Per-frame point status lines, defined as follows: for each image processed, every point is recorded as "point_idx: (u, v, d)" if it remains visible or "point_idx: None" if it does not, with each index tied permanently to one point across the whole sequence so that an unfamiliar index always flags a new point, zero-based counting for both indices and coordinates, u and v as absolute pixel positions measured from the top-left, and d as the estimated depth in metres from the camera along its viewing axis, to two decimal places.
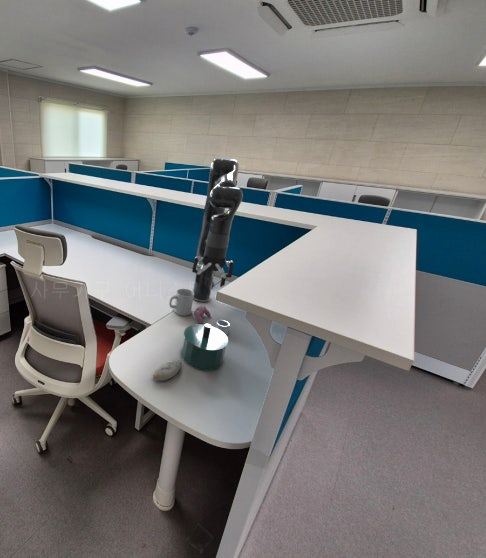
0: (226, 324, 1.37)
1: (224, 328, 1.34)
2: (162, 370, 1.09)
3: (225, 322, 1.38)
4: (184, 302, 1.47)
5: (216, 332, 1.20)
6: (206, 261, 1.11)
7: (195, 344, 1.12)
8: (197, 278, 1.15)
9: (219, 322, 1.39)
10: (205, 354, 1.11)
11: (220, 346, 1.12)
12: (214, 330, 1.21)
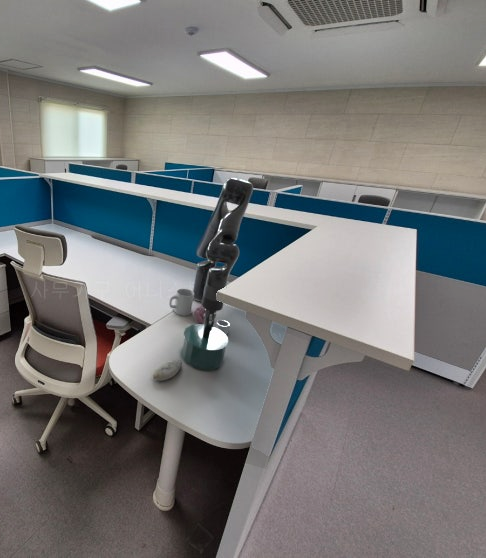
0: (226, 324, 1.37)
1: (224, 328, 1.34)
2: (162, 370, 1.09)
3: (225, 322, 1.38)
4: (184, 302, 1.47)
5: (216, 332, 1.20)
6: None
7: (195, 344, 1.12)
8: None
9: (219, 322, 1.39)
10: (205, 354, 1.11)
11: (220, 346, 1.12)
12: (214, 330, 1.21)
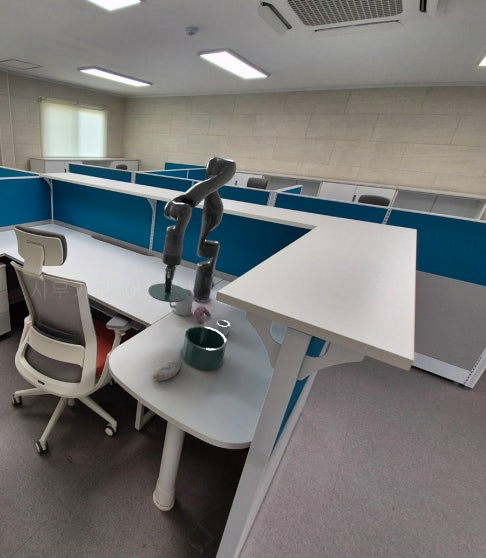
0: (226, 324, 1.37)
1: (224, 328, 1.34)
2: (162, 370, 1.09)
3: (225, 322, 1.38)
4: (184, 302, 1.47)
5: (178, 289, 1.32)
6: None
7: (157, 297, 1.24)
8: None
9: (219, 322, 1.39)
10: (205, 354, 1.11)
11: (179, 298, 1.24)
12: (176, 287, 1.34)
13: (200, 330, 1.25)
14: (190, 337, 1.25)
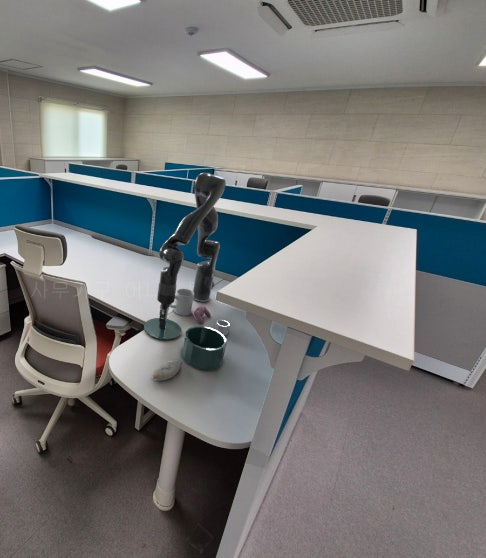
0: (226, 324, 1.37)
1: (224, 328, 1.34)
2: (162, 370, 1.09)
3: (225, 322, 1.38)
4: (184, 302, 1.47)
5: (172, 324, 1.40)
6: None
7: (152, 334, 1.32)
8: None
9: (219, 322, 1.39)
10: (205, 354, 1.11)
11: (173, 335, 1.32)
12: (171, 322, 1.42)
13: (200, 330, 1.25)
14: (190, 337, 1.25)
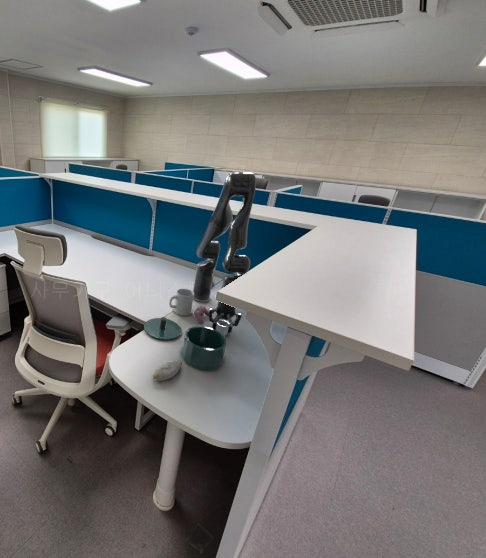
0: (226, 324, 1.37)
1: (224, 328, 1.34)
2: (162, 370, 1.09)
3: (225, 322, 1.38)
4: (184, 302, 1.47)
5: (172, 324, 1.40)
6: (219, 312, 1.33)
7: (152, 334, 1.32)
8: (213, 326, 1.37)
9: (219, 322, 1.39)
10: (205, 354, 1.11)
11: (173, 335, 1.32)
12: (171, 322, 1.42)
13: (200, 330, 1.25)
14: (190, 337, 1.25)
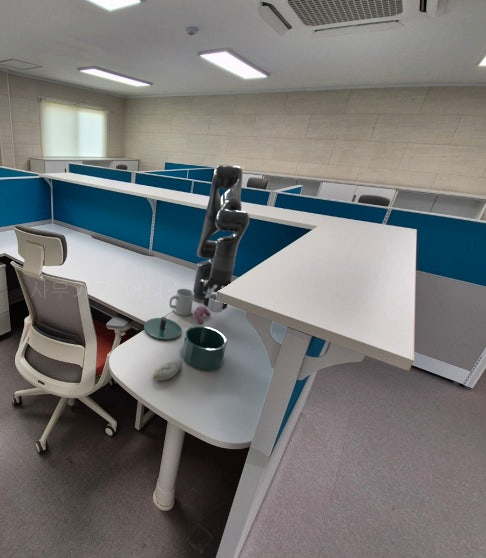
0: None
1: (218, 303, 1.11)
2: (162, 370, 1.09)
3: None
4: (184, 302, 1.47)
5: (172, 324, 1.40)
6: (211, 283, 1.10)
7: (152, 334, 1.32)
8: (205, 301, 1.14)
9: (212, 297, 1.16)
10: (205, 354, 1.11)
11: (173, 335, 1.32)
12: (171, 322, 1.42)
13: (200, 330, 1.25)
14: (190, 337, 1.25)
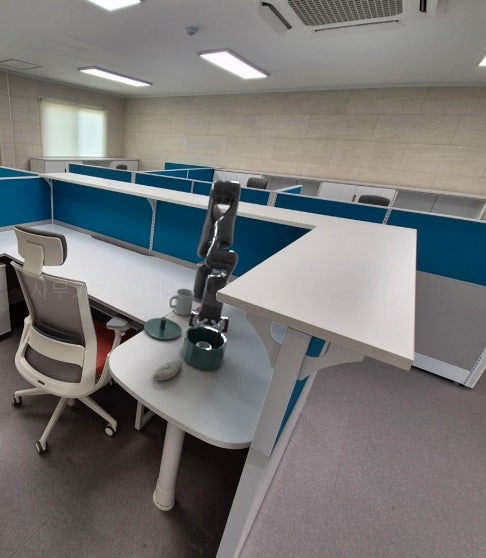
0: (208, 347, 1.21)
1: None
2: (162, 370, 1.09)
3: (207, 344, 1.21)
4: (184, 302, 1.47)
5: (172, 324, 1.40)
6: (202, 317, 1.13)
7: (152, 334, 1.32)
8: (193, 331, 1.17)
9: (200, 344, 1.22)
10: (205, 354, 1.11)
11: (173, 335, 1.32)
12: (171, 322, 1.42)
13: (200, 330, 1.25)
14: (190, 337, 1.25)
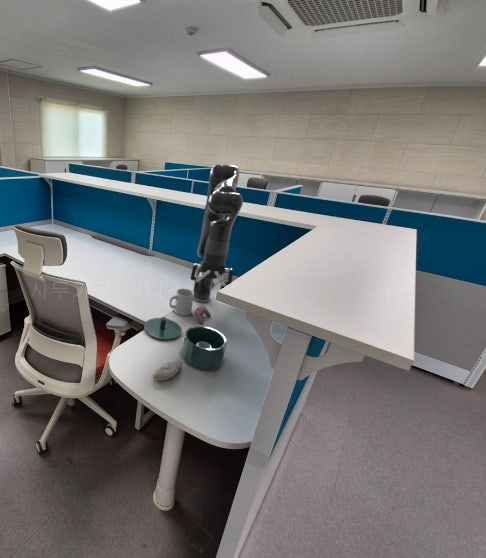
0: (208, 347, 1.21)
1: None
2: (162, 370, 1.09)
3: (207, 344, 1.21)
4: (184, 302, 1.47)
5: (172, 324, 1.40)
6: (205, 268, 1.08)
7: (152, 334, 1.32)
8: (196, 286, 1.12)
9: (200, 344, 1.22)
10: (205, 354, 1.11)
11: (173, 335, 1.32)
12: (171, 322, 1.42)
13: (200, 330, 1.25)
14: (190, 337, 1.25)
